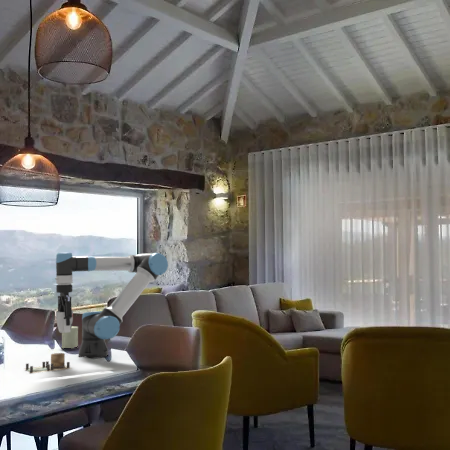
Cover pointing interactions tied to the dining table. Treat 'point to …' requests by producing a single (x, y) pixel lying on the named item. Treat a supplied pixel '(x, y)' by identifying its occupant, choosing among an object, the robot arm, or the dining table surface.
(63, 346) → the can
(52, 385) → the dining table surface
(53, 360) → the wooden round post
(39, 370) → the pin board
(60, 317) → the cup
